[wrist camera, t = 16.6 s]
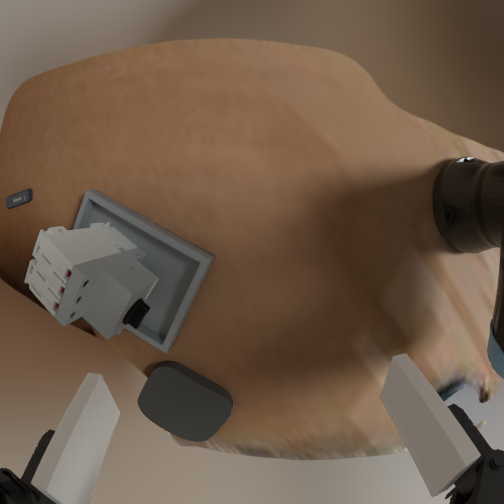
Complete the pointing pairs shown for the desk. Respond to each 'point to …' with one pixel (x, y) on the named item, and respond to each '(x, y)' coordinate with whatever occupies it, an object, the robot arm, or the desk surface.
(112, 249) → the circuit breaker
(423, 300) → the desk surface
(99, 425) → the robot arm
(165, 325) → the tray
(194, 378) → the media streaming box
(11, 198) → the usb stick
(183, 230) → the desk surface
